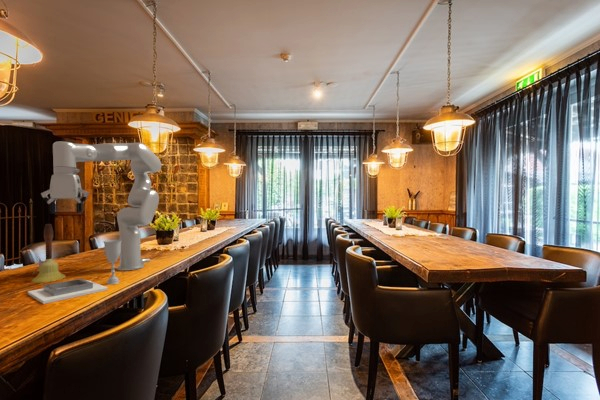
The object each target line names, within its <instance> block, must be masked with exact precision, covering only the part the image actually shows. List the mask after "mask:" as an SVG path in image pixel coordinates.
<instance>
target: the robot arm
mask: <svg viewBox="0 0 600 400" xmlns="http://www.w3.org/2000/svg"><path fill="white" fill-rule="evenodd" d="M52 156H53V158H52V159H53V174H52V175H51V178H50V184H49V189H47V190H45V191H43V192H41V193H40V195H41V197H42V198H43V200H44V201H45V202H46V203H47V204H48V211H49V213H50V214H56V213H57V204H56V201H57V200H68V199H69V200H75V201H76V202H77V203H76V213H77V214H78V213H79V214H81V213H82V212H83V210H84V205H83V204H84V203H85V201H86V200H87V199H88V197H89V195H91V194H90V192H88V191H86V190H85V189H83V188H82V184H81V180H80V179H81V178H80V176H79V175H78V173H80V172H81V169H79V168H77V163H79V162H81V163H82V162H83V163H84V162H113V161H128V160H129V161H130V164H129V165H130V170H131V172H132V173H133V176H134V182H133V184H132V187H131V190H130V192H129V195H128V197H127V204H128V205H129V206H131V207H129V206H128V207H123V208H121V209H120V210H118V213H117V214H116V219H117V224H118V231H119V240H122V241H121V252H120V255H119V265H118V266H115V269H116V270H117V271H134V270H140V269H142V268H144V267H145V263H150V261H151V258H150V257H149V258H142V256H141V251H142V250H141V247H142V246H141V231H140V229H139V227H145V226H146V227H147V226H148V225H150V224H151V223H152V222H153V218H154V217H155V214H156V210H157V209H158V206H159V202H160V196H159V193H158V192H157V191H156V190H155V189H151V188H152V180H151V178H150V176H149V174H153V173H158V172H159V171H160V170H161V169H162V162H161V160H160V158H159V157H158V156H157V155H156V154H155V153H154V152H153V150H151V148H149V146H147V145H145V144H144V143H142V142H140V141H139V142H128V143H127V142H123V143H122V142H121V143H120V142H118V143H116V142H106V143H105V142H104V143H98V144H87V143H73V142H70V141H61V140H60V141H55V142H54V143H53V144H52ZM160 172H161V171H160ZM48 195H49V196H48Z"/></svg>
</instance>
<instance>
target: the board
mask: <svg viewBox="0 0 600 400" xmlns="http://www.w3.org/2000/svg"><path fill="white" fill-rule="evenodd" d="M85 280H86V279H85ZM86 281H89V282H91V283H93V288H92V289H87V290H82V291H77V292H72V293H67V294H62V295H58V296H52V295H50V294H49V293H47V292H45V291H43V288H38V289H34V290H28V291H27V295H29V296H30V297H31V298H33V299H35V300H36V301H38V302H40V303H41V304H43V305H45V304H51V303H54V302H60V301H64V300H68V299H73V298H77V297H78V298H79V297H81V296H86V295H91V294H96V293H100V292H101V293H102V292H104V291H108V289H109V287H108V286H105V285H102V284H99V283H98V282H97V283H96V282H94V281H91V280H88V279H87V280H86ZM74 286H77V285H74ZM68 287H72V286H68ZM63 288H66V287H63ZM58 289H61V288H58Z"/></svg>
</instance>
